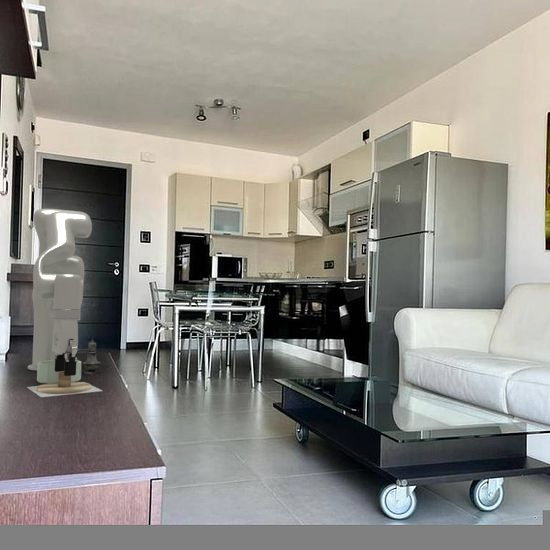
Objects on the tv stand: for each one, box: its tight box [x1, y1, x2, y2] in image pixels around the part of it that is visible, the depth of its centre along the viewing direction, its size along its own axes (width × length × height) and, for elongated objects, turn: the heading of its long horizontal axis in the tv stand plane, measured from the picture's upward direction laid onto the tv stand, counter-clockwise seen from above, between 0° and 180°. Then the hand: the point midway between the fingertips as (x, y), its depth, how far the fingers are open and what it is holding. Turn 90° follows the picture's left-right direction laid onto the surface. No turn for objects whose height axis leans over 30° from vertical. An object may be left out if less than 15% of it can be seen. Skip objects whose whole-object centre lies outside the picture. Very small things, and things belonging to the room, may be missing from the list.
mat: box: [26, 381, 103, 398], centre depth 154 cm, size 17×17×1 cm
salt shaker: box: [82, 339, 101, 375], centre depth 186 cm, size 6×6×12 cm
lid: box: [37, 372, 92, 394], centre depth 154 cm, size 15×15×5 cm
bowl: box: [36, 359, 82, 384], centre depth 169 cm, size 13×13×6 cm
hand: (65, 373), depth 154 cm, fingers open, 9 cm apart
